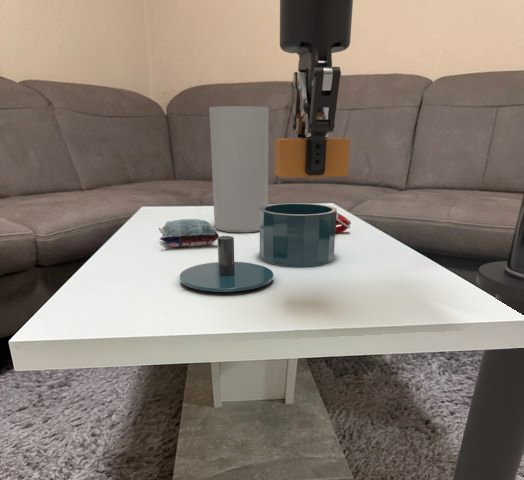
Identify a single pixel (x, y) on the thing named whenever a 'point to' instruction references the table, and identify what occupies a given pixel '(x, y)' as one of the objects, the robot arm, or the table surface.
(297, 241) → the pot
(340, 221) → the tracker holder
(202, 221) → the packaged food
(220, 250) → the lid
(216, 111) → the cylinder vase
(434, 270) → the table surface
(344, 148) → the orange rectangular block
